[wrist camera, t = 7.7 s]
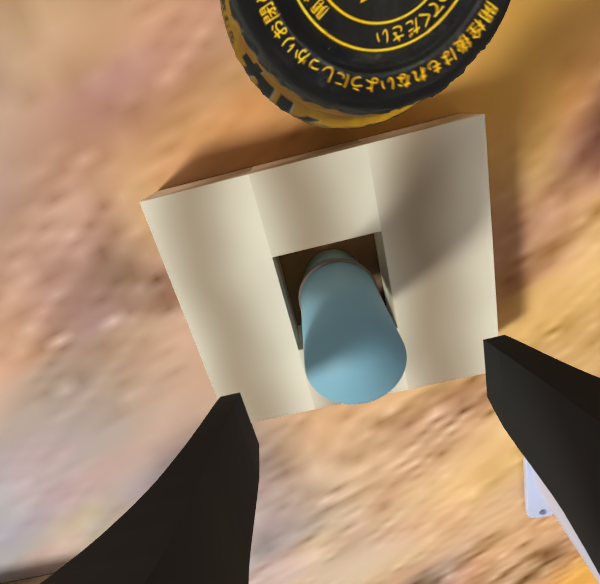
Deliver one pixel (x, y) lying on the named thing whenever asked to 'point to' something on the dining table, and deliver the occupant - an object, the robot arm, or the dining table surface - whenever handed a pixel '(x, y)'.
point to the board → (328, 229)
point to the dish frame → (30, 580)
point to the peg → (347, 331)
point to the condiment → (357, 52)
